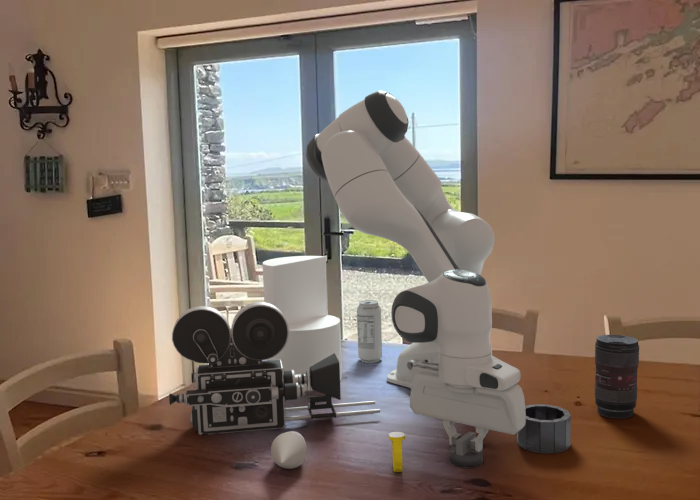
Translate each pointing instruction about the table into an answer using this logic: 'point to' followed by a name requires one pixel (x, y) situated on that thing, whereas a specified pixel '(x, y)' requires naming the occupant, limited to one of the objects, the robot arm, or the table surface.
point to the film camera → (248, 371)
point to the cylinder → (302, 311)
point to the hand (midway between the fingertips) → (465, 447)
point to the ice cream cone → (289, 450)
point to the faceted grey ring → (545, 429)
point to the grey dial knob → (465, 453)
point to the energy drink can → (369, 331)
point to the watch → (397, 450)
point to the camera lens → (616, 375)
